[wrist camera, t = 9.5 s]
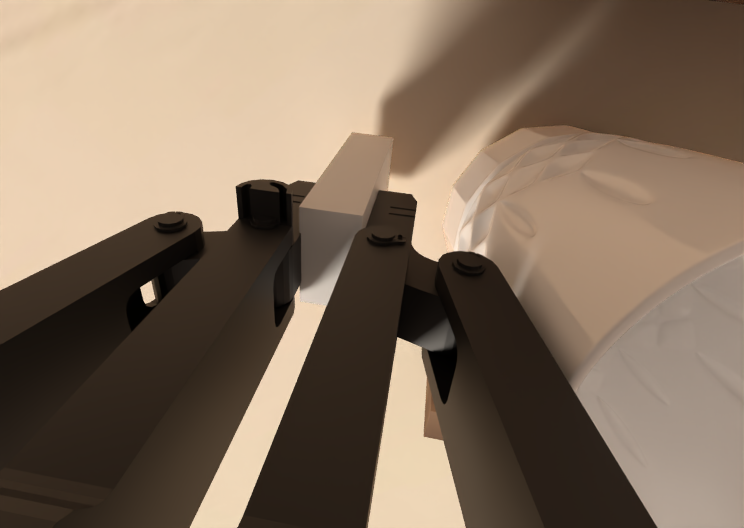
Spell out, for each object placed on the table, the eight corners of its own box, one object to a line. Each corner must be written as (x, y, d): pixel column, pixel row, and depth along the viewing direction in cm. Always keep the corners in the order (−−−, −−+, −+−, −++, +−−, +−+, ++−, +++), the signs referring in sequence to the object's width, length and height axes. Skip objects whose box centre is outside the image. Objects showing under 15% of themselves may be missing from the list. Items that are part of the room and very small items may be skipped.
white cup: (604, 58, 14) (1074, 89, 5) (652, 249, 17) (985, 463, 9) (389, 178, 15) (470, 370, 6) (473, 334, 19) (603, 600, 10)
